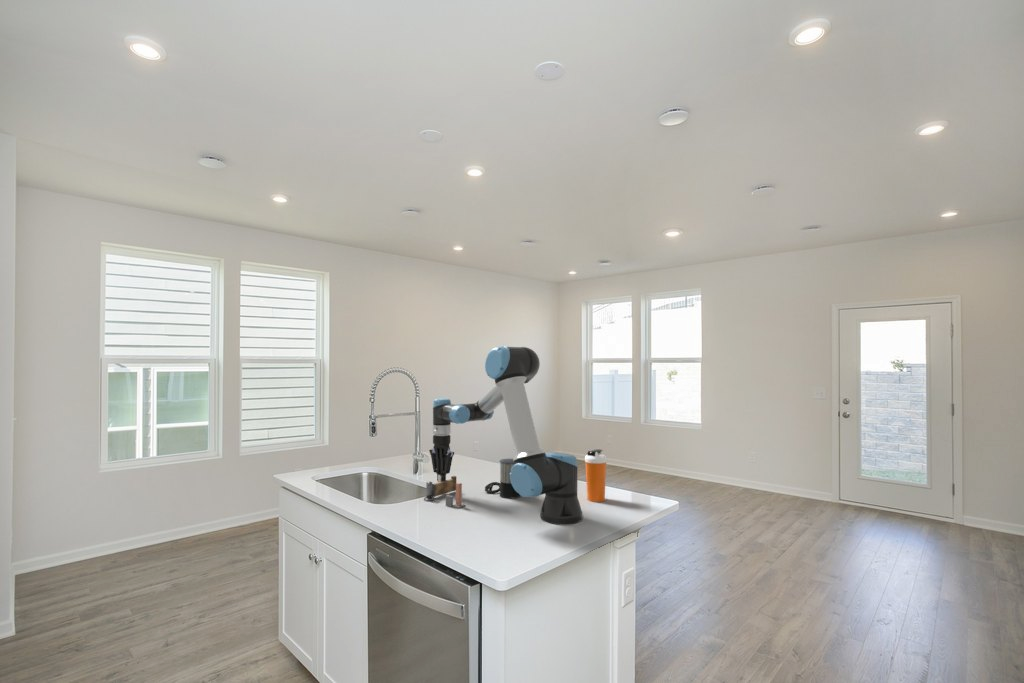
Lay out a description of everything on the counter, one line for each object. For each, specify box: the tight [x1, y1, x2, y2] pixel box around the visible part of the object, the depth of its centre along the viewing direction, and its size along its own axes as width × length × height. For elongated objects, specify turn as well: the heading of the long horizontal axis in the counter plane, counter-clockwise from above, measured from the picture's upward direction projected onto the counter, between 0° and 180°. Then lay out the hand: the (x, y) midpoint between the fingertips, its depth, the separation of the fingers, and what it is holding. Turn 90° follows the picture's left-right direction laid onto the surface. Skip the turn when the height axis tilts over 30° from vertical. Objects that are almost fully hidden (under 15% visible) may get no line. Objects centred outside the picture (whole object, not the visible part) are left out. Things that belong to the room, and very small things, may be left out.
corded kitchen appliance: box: [484, 458, 522, 499], centre depth 213 cm, size 14×16×15 cm
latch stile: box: [445, 482, 466, 509], centre depth 195 cm, size 7×4×9 cm, turn 53°
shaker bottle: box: [584, 449, 608, 503], centre depth 204 cm, size 9×9×20 cm
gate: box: [432, 475, 457, 498], centre depth 211 cm, size 14×2×6 cm, turn 143°
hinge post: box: [423, 481, 436, 502], centre depth 204 cm, size 4×4×7 cm
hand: (441, 489), depth 214 cm, fingers closed
